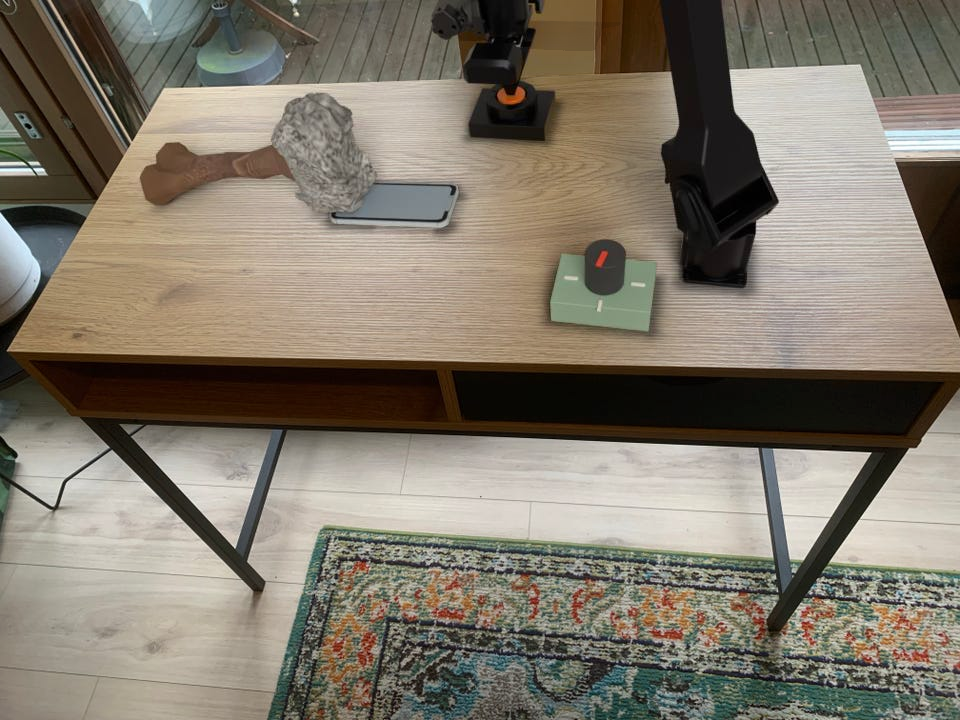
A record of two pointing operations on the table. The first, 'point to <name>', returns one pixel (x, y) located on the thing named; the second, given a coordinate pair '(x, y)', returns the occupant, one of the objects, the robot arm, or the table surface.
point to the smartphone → (403, 205)
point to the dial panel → (603, 296)
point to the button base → (513, 115)
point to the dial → (604, 267)
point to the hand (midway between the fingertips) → (511, 93)
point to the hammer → (279, 160)
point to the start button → (511, 99)
